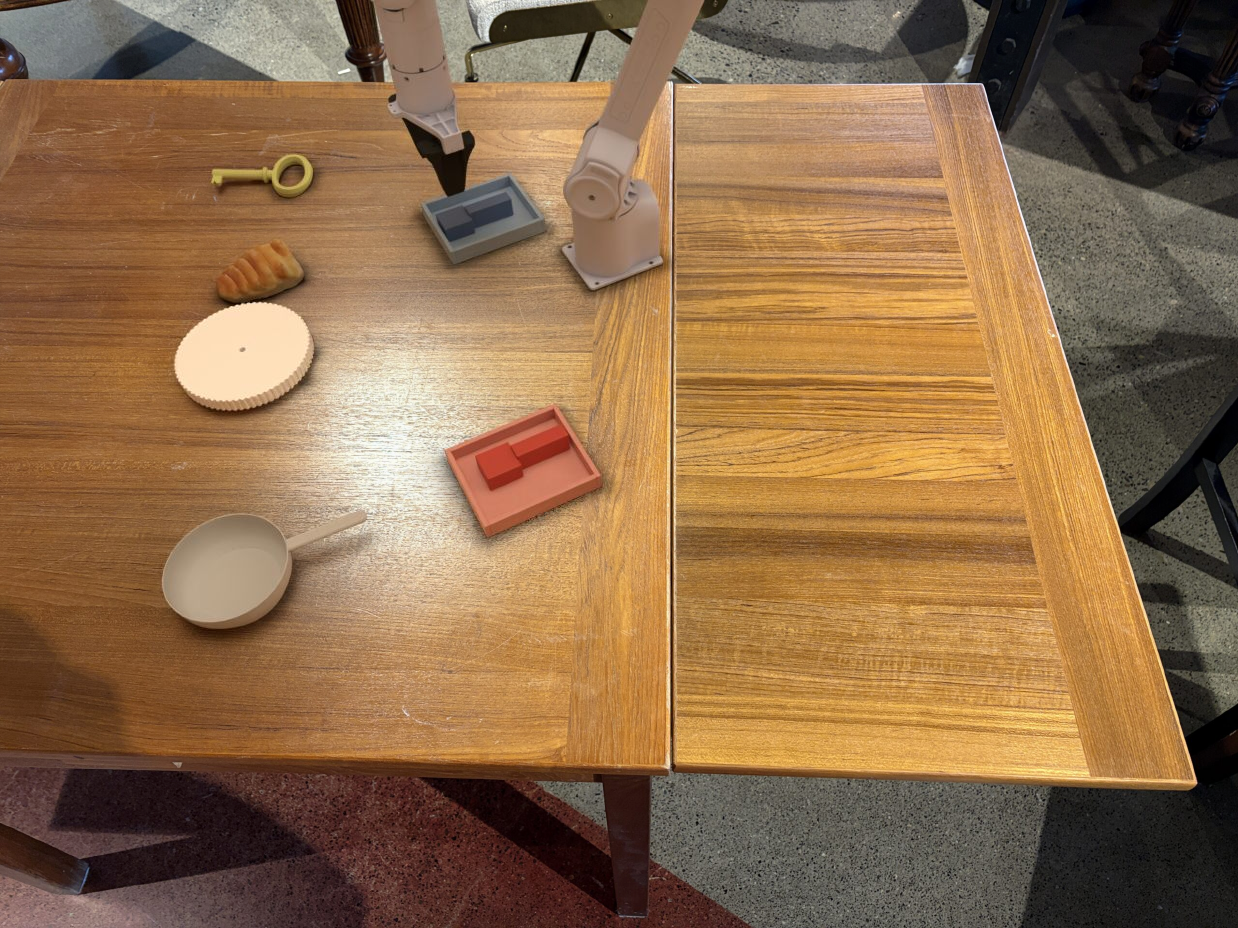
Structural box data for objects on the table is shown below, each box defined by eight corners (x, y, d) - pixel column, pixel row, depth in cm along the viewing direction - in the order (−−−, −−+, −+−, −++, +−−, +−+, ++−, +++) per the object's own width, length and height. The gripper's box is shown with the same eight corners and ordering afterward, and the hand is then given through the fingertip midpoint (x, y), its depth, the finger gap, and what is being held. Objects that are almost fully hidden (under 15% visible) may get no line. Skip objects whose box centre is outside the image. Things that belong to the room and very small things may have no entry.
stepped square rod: (506, 203, 110) (503, 187, 108) (516, 218, 108) (514, 202, 106) (438, 227, 108) (434, 211, 106) (448, 243, 106) (444, 227, 104)
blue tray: (512, 185, 113) (510, 172, 111) (546, 231, 107) (544, 218, 106) (423, 215, 110) (420, 203, 108) (453, 265, 104) (450, 252, 103)
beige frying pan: (171, 557, 83) (153, 536, 79) (362, 490, 86) (351, 468, 83) (188, 658, 77) (168, 639, 74) (391, 581, 81) (381, 561, 78)
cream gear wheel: (311, 307, 101) (304, 290, 99) (322, 398, 93) (315, 383, 91) (183, 334, 99) (173, 318, 97) (184, 430, 91) (173, 415, 89)
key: (213, 182, 114) (206, 168, 112) (309, 158, 117) (304, 144, 115) (221, 217, 110) (214, 203, 109) (320, 191, 113) (315, 177, 111)
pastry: (236, 318, 100) (223, 293, 97) (211, 286, 103) (197, 261, 100) (311, 280, 103) (300, 254, 100) (284, 250, 107) (273, 225, 103)
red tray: (557, 415, 91) (555, 403, 90) (601, 486, 86) (601, 475, 85) (447, 461, 88) (444, 449, 87) (487, 538, 83) (484, 527, 82)
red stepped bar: (559, 432, 89) (557, 417, 88) (573, 455, 88) (572, 440, 86) (477, 467, 87) (474, 453, 85) (490, 491, 86) (487, 477, 84)
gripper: (355, 34, 91) (386, 149, 102) (403, 107, 83) (432, 222, 95) (420, 15, 93) (444, 130, 104) (473, 85, 85) (493, 201, 96)
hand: (442, 173), depth 99 cm, fingers open, 7 cm apart
